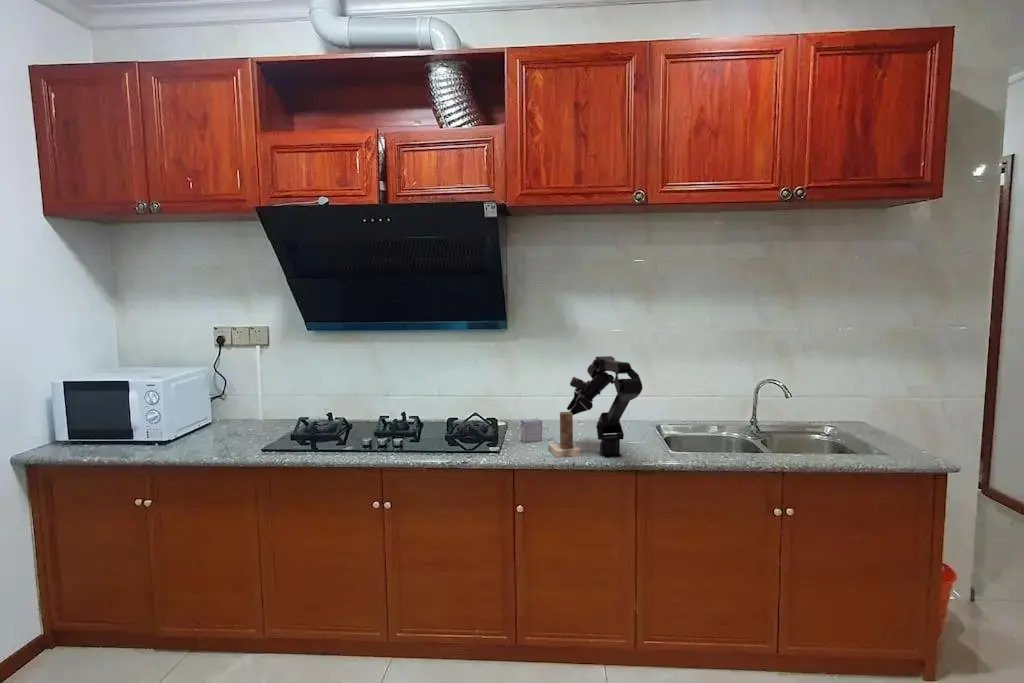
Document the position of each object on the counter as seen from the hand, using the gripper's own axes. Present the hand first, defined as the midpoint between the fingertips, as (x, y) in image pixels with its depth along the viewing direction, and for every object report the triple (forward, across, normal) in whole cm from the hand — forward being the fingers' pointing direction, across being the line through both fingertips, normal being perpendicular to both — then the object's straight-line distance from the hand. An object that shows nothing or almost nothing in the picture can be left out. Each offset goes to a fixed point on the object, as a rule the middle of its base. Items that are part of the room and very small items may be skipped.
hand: (568, 412), depth 235 cm
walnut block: (+9, +9, +7) cm, 14 cm away
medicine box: (+20, -9, 0) cm, 22 cm away
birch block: (+11, +8, +9) cm, 17 cm away
